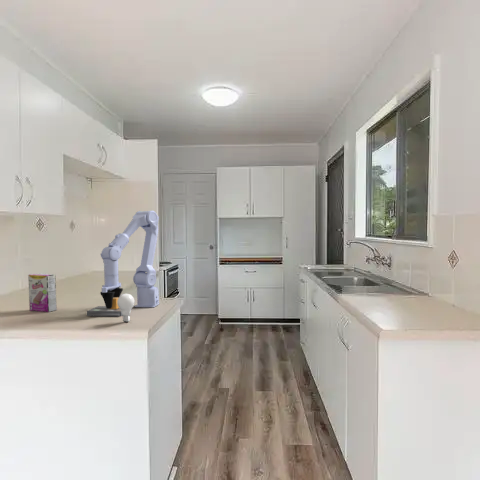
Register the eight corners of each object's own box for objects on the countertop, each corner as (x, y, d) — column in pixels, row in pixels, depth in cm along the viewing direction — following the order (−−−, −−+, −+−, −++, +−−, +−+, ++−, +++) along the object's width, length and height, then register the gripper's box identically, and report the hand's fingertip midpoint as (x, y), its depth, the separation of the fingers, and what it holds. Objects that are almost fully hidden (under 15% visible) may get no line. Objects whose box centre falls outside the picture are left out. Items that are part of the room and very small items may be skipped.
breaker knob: (120, 307, 167) (119, 297, 167) (116, 309, 164) (116, 298, 163) (113, 307, 167) (113, 297, 167) (109, 309, 164) (109, 298, 164)
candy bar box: (28, 311, 173) (27, 274, 173) (37, 309, 178) (36, 273, 177) (48, 312, 170) (47, 275, 169) (57, 310, 174) (56, 273, 174)
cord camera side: (119, 316, 160) (119, 313, 160) (118, 317, 159) (118, 314, 158) (90, 316, 161) (90, 313, 161) (89, 316, 160) (89, 313, 160)
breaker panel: (130, 310, 170) (130, 306, 170) (121, 316, 160) (121, 311, 160) (98, 310, 172) (98, 305, 172) (86, 315, 162) (86, 310, 162)
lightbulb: (119, 320, 152) (119, 292, 152) (136, 319, 153) (135, 292, 152) (116, 324, 146) (115, 295, 146) (133, 323, 146) (132, 294, 146)
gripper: (110, 273, 173) (111, 303, 173) (94, 277, 158) (95, 310, 159) (125, 272, 172) (126, 303, 172) (110, 277, 158) (111, 310, 158)
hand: (112, 306), depth 166 cm, fingers open, 6 cm apart
